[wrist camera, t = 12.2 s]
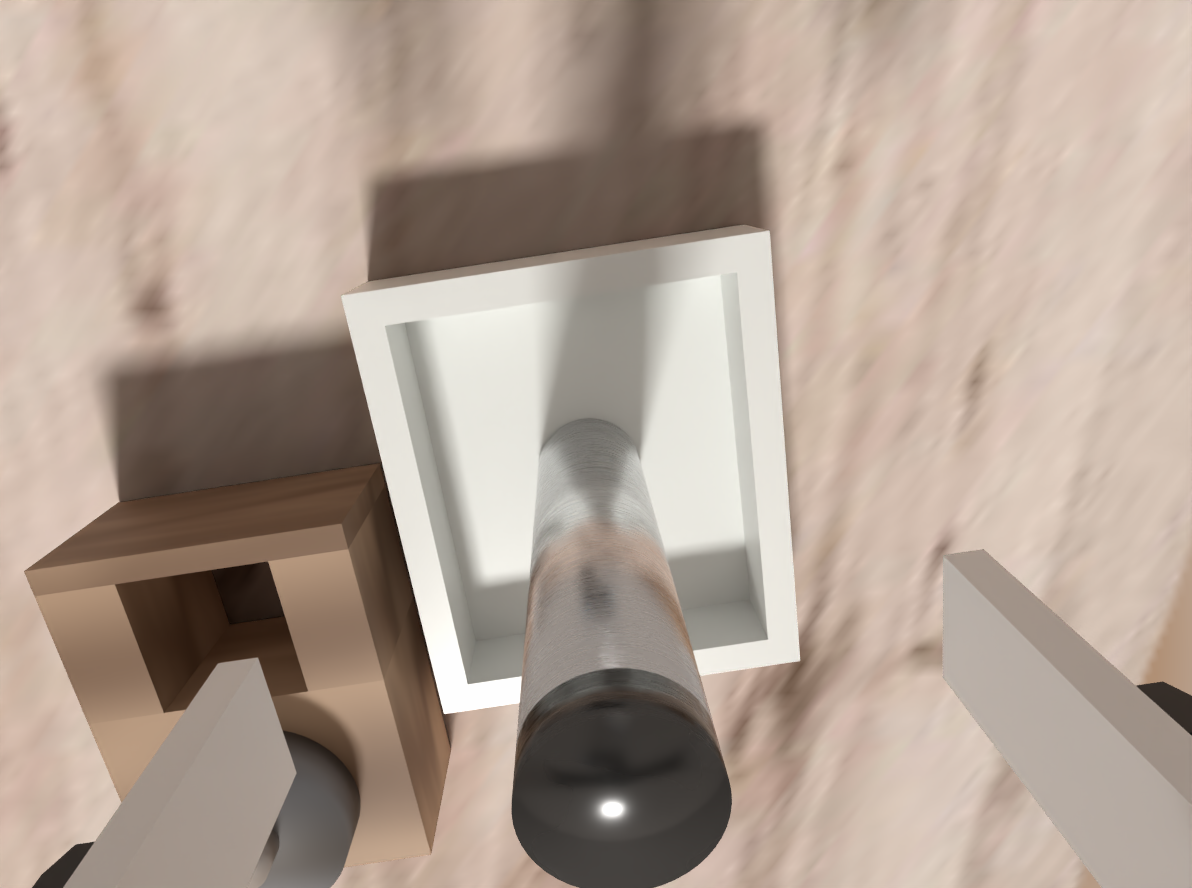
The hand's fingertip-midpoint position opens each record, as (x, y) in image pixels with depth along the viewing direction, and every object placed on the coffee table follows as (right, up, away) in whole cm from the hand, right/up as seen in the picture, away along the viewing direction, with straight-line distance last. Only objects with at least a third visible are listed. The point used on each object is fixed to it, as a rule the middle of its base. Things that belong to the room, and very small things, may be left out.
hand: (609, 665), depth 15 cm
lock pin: (0, +4, +11) cm, 12 cm away
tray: (-1, +4, +12) cm, 13 cm away
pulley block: (-11, -3, +14) cm, 18 cm away
